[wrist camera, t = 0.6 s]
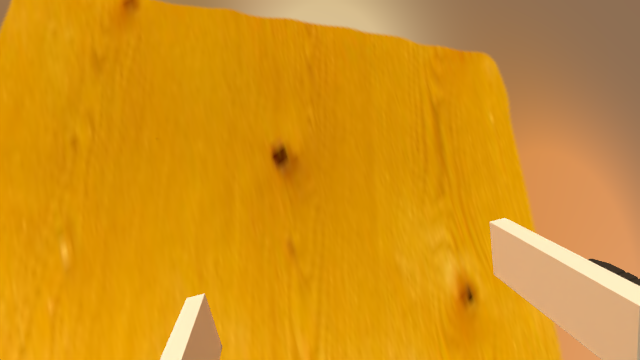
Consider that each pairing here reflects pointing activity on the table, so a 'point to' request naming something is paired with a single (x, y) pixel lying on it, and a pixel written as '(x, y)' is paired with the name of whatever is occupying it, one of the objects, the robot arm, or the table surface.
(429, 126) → the table surface
